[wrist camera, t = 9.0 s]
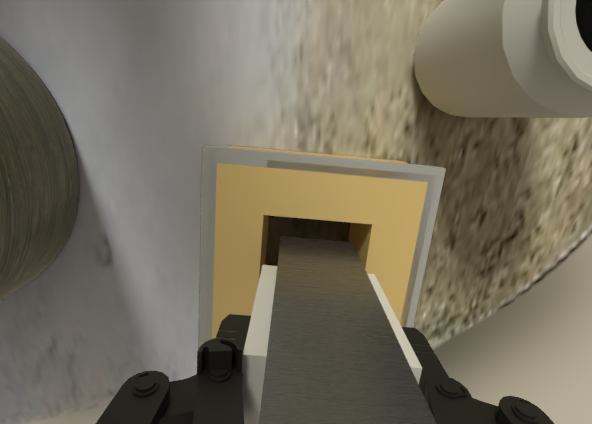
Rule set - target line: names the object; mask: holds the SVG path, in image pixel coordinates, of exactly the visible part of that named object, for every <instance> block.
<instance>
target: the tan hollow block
mask: <svg viewBox="0 0 592 424" xmlns="http://www.w3.org/2000/svg"><path fill="white" fill-rule="evenodd" d="M445 171H446V168H443V167H437V166H426V165H415V164H408V163H406V162H403V161H395V160H384V159H373V158H363V157H352V156H341V155H330V154H319V153H308V152H297V151H287V150H276V149H265V148H254V147H243V146H232V145H230V146H228V147H219V146H208V145H204V146H202V167H201V225H200V284H199V342H198V350H199V348H200V346H201V345H202V344H203V343H205V342H206V341H209V340H211V339H214V338H216V335H217V332H218V330H219V327H220V324H221V321H222V320H223V319H224V318H225V317H227V316H228V315H229V314H235V315H248V316H251V315H252V310H253V306H254V301H255V297H256V292H257V288H258V283H259V279H260V274H261V270H262V265H265V264H266V250H267V237H268V223H269V216H281V217H293V218H304V219H316V220H327V221H339V222H350V223H351V224H350V231H349V238H348V242H353V244H354V246H355V249H356V251H357V253H358V255H359V257H360V259H361V262H362V264H363V266H364V268H365V270H366V272H367V274H375V276H376V278H377V280H378V282H379V284H380V286H381V288H382V290H383V292H384V294H385V296H386V298H387V300H388V302H389V304H390V306H391V307H392V309H393V311H394V313H395V315H396V317H397V319H398V321H399V323H400V325H401V327H411V328H413V324H414V319H415V314H416V309H417V305H418V300H419V295H420V290H421V286H422V281H423V276H424V271H425V267H426V262H427V257H428V252H429V247H430V243H431V238H432V233H433V228H434V224H435V219H436V214H437V209H438V205H439V200H440V195H441V190H442V186H443V181H444V176H445Z"/></svg>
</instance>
